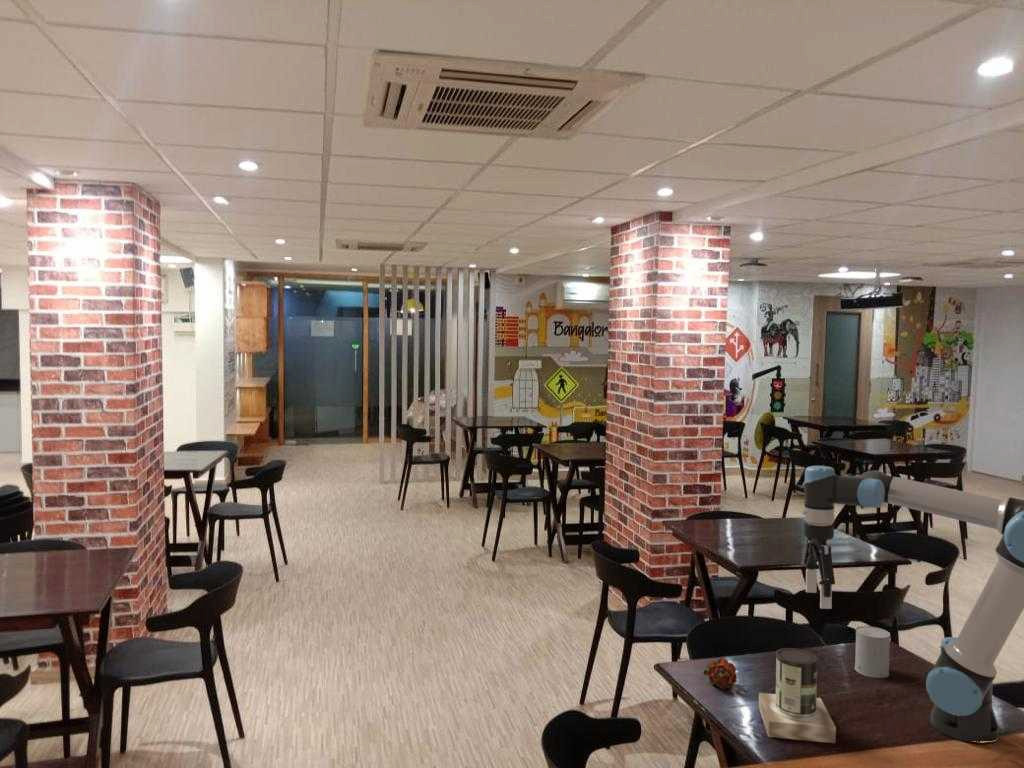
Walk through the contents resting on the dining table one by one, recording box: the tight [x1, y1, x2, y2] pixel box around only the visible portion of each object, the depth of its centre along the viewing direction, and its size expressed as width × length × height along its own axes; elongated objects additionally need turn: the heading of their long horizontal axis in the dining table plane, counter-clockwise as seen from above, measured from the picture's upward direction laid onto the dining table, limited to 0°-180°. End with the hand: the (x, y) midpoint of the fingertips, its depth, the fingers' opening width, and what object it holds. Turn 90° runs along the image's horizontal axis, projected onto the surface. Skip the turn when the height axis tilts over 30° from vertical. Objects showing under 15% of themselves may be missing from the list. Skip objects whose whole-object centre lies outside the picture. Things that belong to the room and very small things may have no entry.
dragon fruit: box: [702, 657, 738, 690], centre depth 215 cm, size 8×8×12 cm
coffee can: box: [775, 647, 819, 717], centre depth 193 cm, size 10×10×14 cm
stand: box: [758, 692, 837, 744], centre depth 193 cm, size 16×16×4 cm
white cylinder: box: [854, 625, 891, 679], centre depth 226 cm, size 10×10×12 cm
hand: (818, 600), depth 201 cm, fingers open, 13 cm apart
